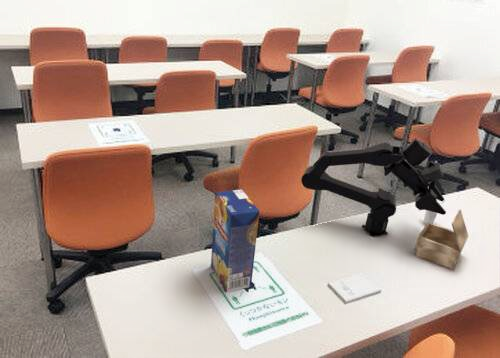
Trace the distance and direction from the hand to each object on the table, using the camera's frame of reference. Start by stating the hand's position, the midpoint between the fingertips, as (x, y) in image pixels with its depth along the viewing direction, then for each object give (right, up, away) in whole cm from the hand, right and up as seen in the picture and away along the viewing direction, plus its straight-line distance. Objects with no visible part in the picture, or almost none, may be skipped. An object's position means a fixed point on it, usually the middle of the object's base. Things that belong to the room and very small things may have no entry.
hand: (444, 206), depth 146 cm
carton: (-2, -15, +1) cm, 15 cm away
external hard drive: (-33, -22, -17) cm, 43 cm away
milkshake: (+2, -7, +19) cm, 20 cm away
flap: (+2, -7, -5) cm, 9 cm away
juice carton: (-67, -18, -17) cm, 72 cm away
